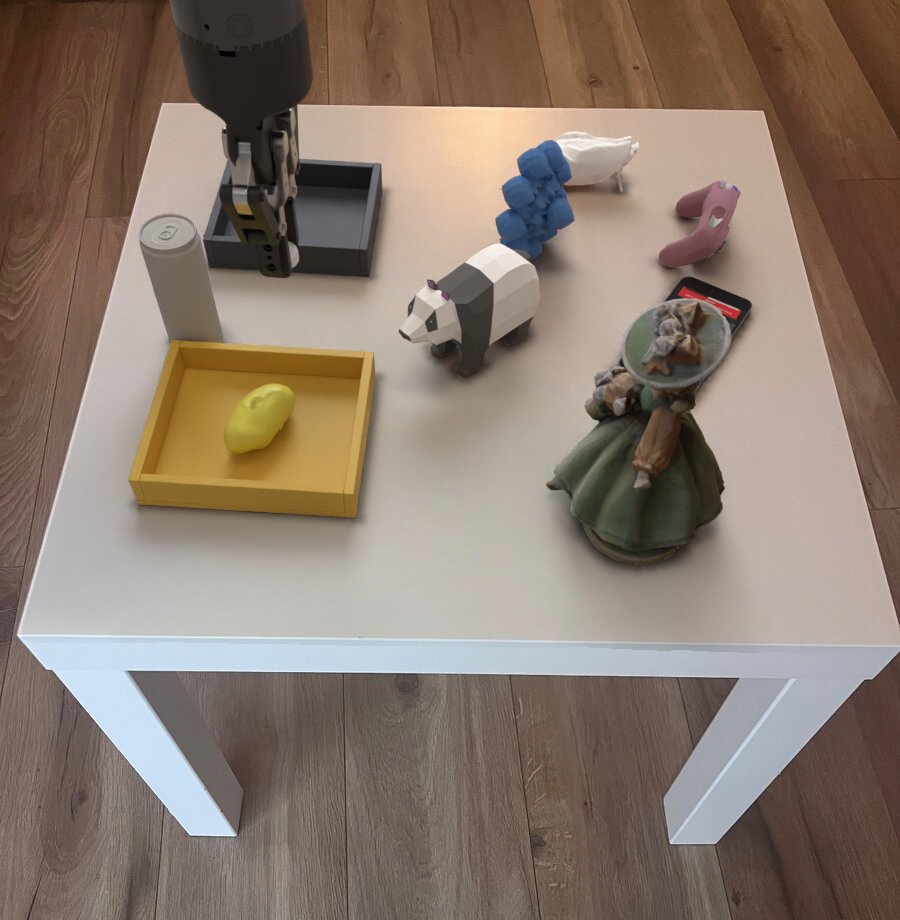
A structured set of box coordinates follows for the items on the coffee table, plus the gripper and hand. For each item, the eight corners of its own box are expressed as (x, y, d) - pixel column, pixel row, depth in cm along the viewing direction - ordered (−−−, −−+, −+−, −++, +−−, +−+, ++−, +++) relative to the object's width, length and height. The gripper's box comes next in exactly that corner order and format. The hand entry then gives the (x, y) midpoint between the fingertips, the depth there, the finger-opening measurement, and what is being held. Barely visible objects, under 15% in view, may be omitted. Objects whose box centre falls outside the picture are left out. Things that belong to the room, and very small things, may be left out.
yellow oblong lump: (311, 415, 78) (306, 382, 75) (249, 474, 75) (240, 442, 71) (273, 394, 79) (267, 361, 76) (210, 451, 76) (201, 419, 72)
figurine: (549, 423, 79) (583, 222, 62) (711, 439, 79) (791, 241, 62) (539, 561, 72) (574, 375, 55) (719, 580, 71) (812, 398, 54)
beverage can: (162, 357, 82) (125, 243, 72) (186, 322, 85) (153, 207, 74) (211, 369, 82) (181, 256, 71) (234, 333, 84) (207, 219, 74)
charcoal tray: (209, 267, 89) (202, 240, 86) (234, 181, 96) (229, 154, 93) (368, 276, 89) (367, 249, 86) (382, 190, 96) (381, 163, 93)
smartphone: (755, 302, 87) (689, 399, 80) (752, 308, 87) (687, 404, 81) (685, 273, 89) (615, 365, 82) (683, 279, 89) (613, 371, 82)
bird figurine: (607, 173, 100) (522, 156, 97) (636, 122, 94) (546, 102, 91) (613, 208, 99) (526, 192, 96) (643, 159, 92) (551, 140, 90)
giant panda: (499, 301, 87) (507, 213, 79) (541, 332, 85) (553, 244, 77) (383, 375, 82) (379, 288, 74) (425, 409, 80) (425, 324, 71)
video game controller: (688, 289, 91) (738, 242, 85) (652, 262, 90) (700, 213, 84) (706, 229, 96) (754, 182, 90) (672, 203, 95) (719, 153, 89)
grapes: (536, 307, 87) (551, 194, 77) (476, 280, 89) (483, 166, 78) (593, 242, 92) (614, 127, 82) (535, 218, 94) (549, 103, 84)
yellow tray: (138, 504, 74) (127, 480, 71) (179, 366, 82) (171, 339, 79) (355, 518, 73) (353, 494, 71) (375, 377, 82) (373, 351, 79)
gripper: (201, -58, 56) (248, 197, 70) (141, 67, 48) (208, 322, 63) (323, -50, 55) (345, 204, 70) (282, 76, 48) (316, 330, 63)
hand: (280, 259), depth 66 cm, fingers closed on chess pawn, 2 cm apart
